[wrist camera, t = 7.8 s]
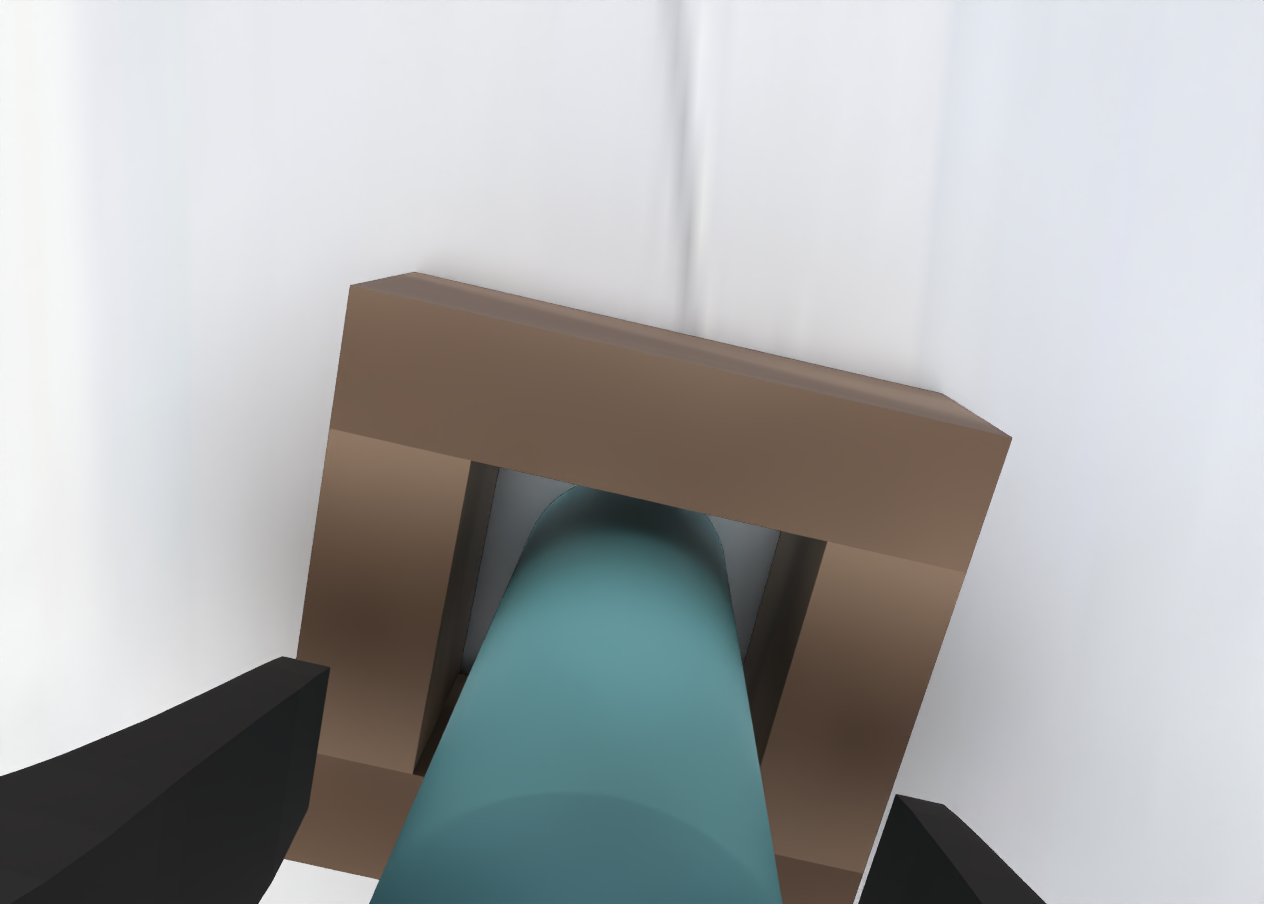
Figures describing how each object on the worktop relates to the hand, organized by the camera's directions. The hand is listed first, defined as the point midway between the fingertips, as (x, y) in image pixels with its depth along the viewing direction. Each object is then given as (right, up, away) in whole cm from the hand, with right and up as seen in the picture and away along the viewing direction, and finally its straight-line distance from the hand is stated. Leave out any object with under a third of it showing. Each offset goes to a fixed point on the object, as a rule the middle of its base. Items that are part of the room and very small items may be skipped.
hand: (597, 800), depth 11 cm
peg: (0, +2, +7) cm, 7 cm away
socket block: (0, +2, +7) cm, 7 cm away
